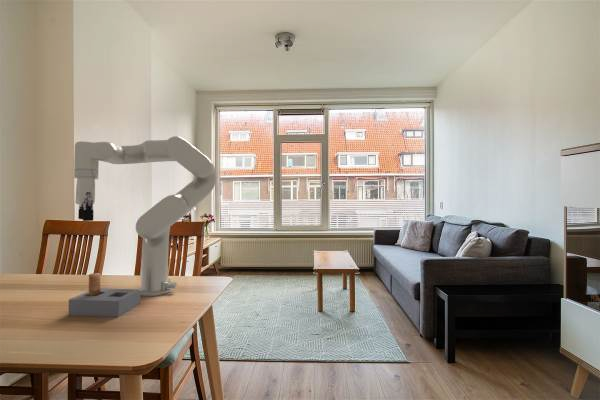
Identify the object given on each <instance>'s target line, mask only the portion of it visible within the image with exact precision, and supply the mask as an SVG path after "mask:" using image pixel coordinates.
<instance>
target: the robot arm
mask: <svg viewBox="0 0 600 400" xmlns="http://www.w3.org/2000/svg"><path fill="white" fill-rule="evenodd" d="M73 159H74V165H73V167H74V168H73V169H74V171H73V178H74V179H76V185H75V187H76V188H75V189H76V190H75V204H76V205H78V216H77V217H78V218H77V219H79V220H82V221H83V222H91V221H92V222H93V221H94V204H95V200H96V180H99V168H100V167H99V165H100V164H99V162H104V163H110V164H112V165H130V164H131V165H134V164H142V163H143V164H145V163H146V164H147V163H158V162H160V163H161V162H162V163H163V162H177V163H178V164H179V165H180V166H182V167H183V168H184V169H186V171H188V172H189V173H191V174H192V175H194V178H193V179H192V180H191V182H189V183H187V184H186V185H185V186H184V187H183V188H182V189H180V190H179V191H178V192H176V193H175V194H169V195H167V196H165V197H163V198H162V199H161V200H159V202H157V203H156V204H155V205H154V206H152V207H151V208H149V209H148V210H147V211H145V213H143V214H142V215H141V216H140V217H138V219H137V221H136V224H135V231H136V233H137V235H138V236H139V237H140V238H142V243H141V244H142V245H141V269H140V271H141V273H140V274H141V275H140V276H141V277H140V278H141V279H140V280H141V282H140V284H141V285H140V287H139V288H138V289H140V297H156V296H163V295H166V294H169V293H170V292H172V290H173V289H174V290H175V289H177V288H178V283H177V282H173V281H171V278H169V243H170V241H169V240H170V234H171V233H170V232H171V230H170V229H171V227H172V226H173V225H174V224H175V223H177V222H178V221H179V220H180V219H181V218H184V217H185V216H186V215H187V214H188V213H189V212H191V210H193V209H194V208H195V207H196V206H197V205H198V204H199V203H201V202H202V201H203V200H204V199H205V198H206V197H207V196H209V195H210V193H211V192H212V191H213V190H214V188H215V185H216V182H217V172H216V168H215V165H214V163H213V161H212V160H211V159H210V158H209V157H208V156H207V155H205V154H204V153H202V152H201V151H200V150H199V149H198V148H196V147H195V146H194V145H192V144H191V143H190V142H189V141H187V140H186V139H185V138H184V137H182V136H177V135H176V136H171V137H169V138H168V139H154V140H153V139H151V140H144V141H143V142H142V143H140V144H136V145H117V144H114V143H112V142H110V141H98V142H96V141H95V142H91V141H83V140H82V141H76V142H75V144H74V158H73Z"/></svg>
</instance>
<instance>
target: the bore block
mask: <svg viewBox="0 0 600 400" xmlns="http://www.w3.org/2000/svg"><path fill="white" fill-rule="evenodd" d="M140 304H141V296H140V289H139V288H137V289H135V288H134V289H132V288H131V289H130V288H107V287H106V288H105V287H104V288H103V287H102V288H101V287H100V295H98V296H89V290H87V291H85V292H83V293H80V294H78V295H75V296H74V297H71V298H69V299H68V313H67V315H68V316H77V317H78V316H79V317H80V316H81V317H82V316H83V317H106V318H107V317H108V318H110V317H111V318H119V317H121V316H122V315H124V314H126V313H127V312H129V311H130V310H132V309H134V308H135V307H136V306H137V307H138V306H139V305H140Z"/></svg>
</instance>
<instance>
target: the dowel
mask: <svg viewBox="0 0 600 400" xmlns="http://www.w3.org/2000/svg"><path fill="white" fill-rule="evenodd" d="M100 288H101V273H100V272H95V273H89V274H88V291H89V296H98V295H100Z"/></svg>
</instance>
